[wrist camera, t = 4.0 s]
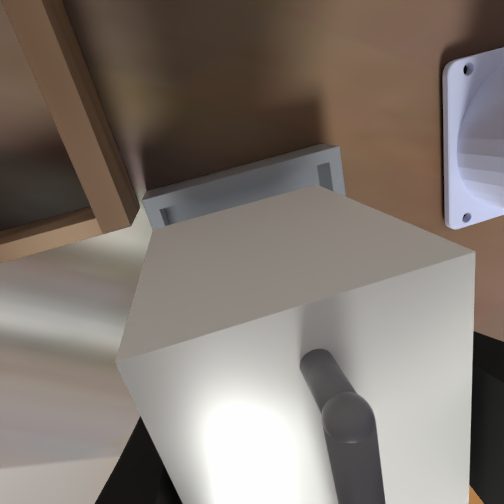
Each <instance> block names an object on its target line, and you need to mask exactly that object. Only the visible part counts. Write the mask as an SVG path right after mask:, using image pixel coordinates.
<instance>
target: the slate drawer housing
mask: <svg viewBox="0 0 504 504" xmlns="http://www.w3.org/2000/svg"><path fill="white" fill-rule="evenodd" d="M313 185H319V186H322V187H324V188H326V189H329V190H331V191H333V192H336V193H338V194H340V195H343V196H345V197H346V194H345V186H344V179H343V171H342V163H341V156H340V148H339V146H334V145H326V144H317V145H314V146H310V147H306V148H303V149H299V150H295V151H292V152H288V153H285V154H281V155H277V156H274V157H270V158H266V159H263V160H259V161H255V162H252V163H248V164H244V165H241V166H237V167H233V168H230V169H226V170H222V171H219V172H215V173H211V174H208V175H204V176H200V177H197V178H193V179H189V180H186V181H182V182H179V183H175V184H171V185H168V186H164V187H160V188H157V189H153V190H149V191H146V193H145V195H144V197H143V199H142V203H143V205H144V208H145V211H146V213H147V216H148V219H149V222H150V224H151V227H152V230H153V229H156V228H160V227H163V226H167V225H171V224H174V223H178V222H182V221H185V220H189V219H193V218H196V217H200V216H204V215H207V214H211V213H215V212H218V211H222V210H226V209H229V208H233V207H237V206H240V205H244V204H247V203H251V202H255V201H258V200H262V199H266V198H269V197H273V196H277V195H280V194H284V193H288V192H291V191H295V190H299V189H302V188H306V187H310V186H313Z"/></svg>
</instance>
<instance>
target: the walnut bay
mask: <svg viewBox="0 0 504 504" xmlns="http://www.w3.org/2000/svg"><path fill="white" fill-rule="evenodd" d="M1 1H2V3H3V5H4V8H5V10H6V12H7V15H8V17H9V19H10V21H11V24H12V26H13V28H14V31H15V33H16V35H17V38H18V40H19V42H20V45H21V47H22V49H23V51H24V54H25V56H26V58H27V61H28V63H29V65H30V68H31V70H32V72H33V74H34V77H35V79H36V81H37V84H38V86H39V88H40V91H41V93H42V95H43V98H44V100H45V102H46V104H47V107H48V109H49V111H50V114H51V116H52V118H53V121H54V123H55V125H56V127H57V130H58V132H59V134H60V137H61V139H62V141H63V144H64V146H65V148H66V151H67V153H68V155H69V157H70V160H71V162H72V164H73V167H74V169H75V171H76V174H77V176H78V178H79V180H80V183H81V185H82V187H83V190H84V192H85V194H86V197H87V199H88V201H89V204H90V206H91V207H87V208H83V209H80V210H76V211H72V212H69V213H65V214H62V215H58V216H54V217H51V218H47V219H43V220H40V221H36V222H32V223H29V224H25V225H21V226H18V227H14V228H10V229H7V230H3V231H0V263H3V262H6V261H10V260H13V259H17V258H21V257H24V256H28V255H31V254H35V253H38V252H42V251H45V250H49V249H52V248H56V247H59V246H63V245H67V244H70V243H74V242H77V241H81V240H84V239H88V238H91V237H95V236H98V235H102V234H105V233H109V232H113V231H116V230H120V229H123V228H127V227H130V226H131V225H132V223H133V221H134V219H135V217H136V215H137V213H138V211H139V209H140V206H139V204H138V201H137V198H136V196H135V193H134V190H133V188H132V185H131V182H130V180H129V177H128V174H127V172H126V169H125V166H124V164H123V161H122V158H121V156H120V153H119V150H118V148H117V145H116V143H115V140H114V137H113V135H112V132H111V129H110V127H109V124H108V121H107V119H106V116H105V113H104V111H103V108H102V105H101V103H100V100H99V97H98V95H97V92H96V89H95V87H94V84H93V81H92V79H91V76H90V73H89V71H88V68H87V65H86V63H85V60H84V57H83V55H82V52H81V49H80V47H79V44H78V42H77V39H76V36H75V34H74V31H73V28H72V26H71V23H70V20H69V18H68V15H67V12H66V10H65V7H64V4H63V2H62V0H1Z"/></svg>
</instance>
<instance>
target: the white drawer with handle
mask: <svg viewBox="0 0 504 504" xmlns="http://www.w3.org/2000/svg"><path fill="white" fill-rule="evenodd" d="M474 287H475V251H473V250H470V249H468V248H465V247H463V246H461V245H458V244H456V243H454V242H451V241H449V240H447V239H444V238H442V237H440V236H437V235H435V234H432V233H430V232H428V231H425V230H423V229H421V228H418V227H416V226H414V225H411V224H409V223H407V222H404V221H402V220H399V219H397V218H395V217H392V216H390V215H388V214H385V213H383V212H381V211H378V210H376V209H373V208H371V207H369V206H366V205H364V204H362V203H359V202H357V201H355V200H352V199H350V198H348V197H345V196H343V195H340V194H338V193H336V192H333V191H331V190H329V189H326V188H324V187H322V186H319V185H313V186H310V187H306V188H302V189H299V190H295V191H291V192H288V193H284V194H280V195H277V196H273V197H269V198H266V199H262V200H258V201H255V202H251V203H247V204H244V205H240V206H237V207H233V208H229V209H226V210H222V211H218V212H215V213H211V214H207V215H204V216H200V217H196V218H193V219H189V220H185V221H182V222H178V223H174V224H171V225H167V226H163V227H160V228H156V229H153V232H152V236H151V239H150V243H149V246H148V250H147V253H146V257H145V260H144V264H143V267H142V271H141V274H140V278H139V281H138V284H137V288H136V291H135V295H134V298H133V302H132V305H131V309H130V312H129V316H128V319H127V323H126V326H125V330H124V333H123V337H122V340H121V344H120V347H119V351H118V354H117V358H116V361H115V364H116V366H117V368H118V370H119V372H120V374H121V376H122V378H123V380H124V382H125V384H126V387H127V389H128V391H129V393H130V395H131V397H132V399H133V401H134V403H135V405H136V407H137V409H138V412H139V414H140V416H141V418H142V420H143V422H144V424H145V426H146V428H147V430H148V432H149V434H150V437H151V439H152V441H153V443H154V445H155V447H156V449H157V451H158V453H159V455H160V457H161V459H162V462H163V464H164V466H165V468H166V470H167V472H168V474H169V476H170V478H171V480H172V482H173V484H174V487H175V489H176V491H177V493H178V495H179V497H180V499H181V501H182V503H183V504H469V472H470V435H471V398H472V361H473V324H474Z"/></svg>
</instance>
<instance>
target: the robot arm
mask: <svg viewBox="0 0 504 504" xmlns="http://www.w3.org/2000/svg"><path fill="white" fill-rule="evenodd" d="M465 65H466V67H467V72H466V74H464V72H463V69H464V66H465ZM443 136H444V201H445V224H446V226H447V227H449V228H452V229H459V228H462V227H466V226H469V225H472V224H475V223H478V222H482V221H485V220H488V219H491V218H494V217H498V216H501V215H504V47H503V48H499V49H495V50H491V51H487V52H484V53H480V54H476V55H472V56H468V57H464V58H460V59H457V60H453V61H451V62H449V63H448V64H447V65H446V66H445V68H444V70H443ZM464 214H466V215H465V218H464V219H463V220H462V218H463V216H464ZM469 485H470V486H471V487H472V488H473V490H474V491H475V492H476V494H477V495H478V496H479V497H480V499H481V500H482V501H483V503H484V504H504V342H502V341H500V340H497V339H494V338H491V337H488V336H486V335H483V334H480V333H477V332H475V331H473V361H472V398H471V435H470V472H469ZM95 504H183V503H182V501H181V499H180V497H179V495H178V493H177V491H176V489H175V487H174V484H173V482H172V480H171V478H170V476H169V474H168V472H167V470H166V468H165V466H164V464H163V462H162V459H161V457H160V455H159V453H158V451H157V449H156V447H155V445H154V443H153V441H152V439H151V437H150V434H149V432H148V430H147V428H146V426H145V424H144V422H143V420H142V418H141V416H140V418H139V420H138V422H137V424H136V426H135V428H134V430H133V432H132V434H131V436H130V438H129V440H128V442H127V444H126V446H125V448H124V450H123V452H122V454H121V456H120V458H119V460H118V462H117V464H116V466H115V468H114V470H113V472H112V473H111V475H110V477H109V479H108V481H107V482H106V484H105V486H104V488H103V490H102V491H101V493H100V495H99V497H98V499H97V500H96V502H95Z"/></svg>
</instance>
